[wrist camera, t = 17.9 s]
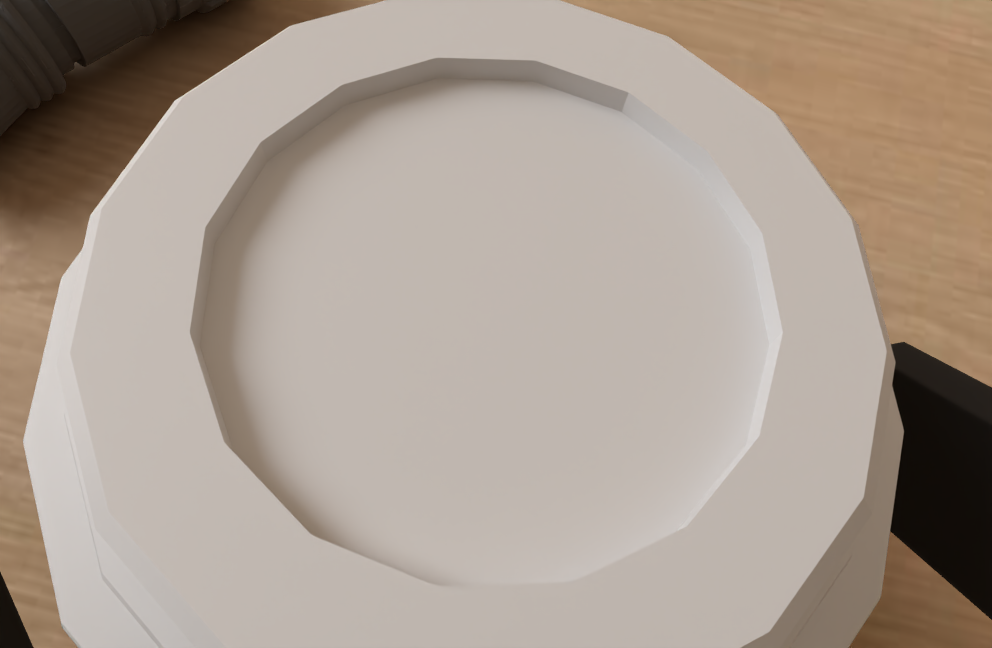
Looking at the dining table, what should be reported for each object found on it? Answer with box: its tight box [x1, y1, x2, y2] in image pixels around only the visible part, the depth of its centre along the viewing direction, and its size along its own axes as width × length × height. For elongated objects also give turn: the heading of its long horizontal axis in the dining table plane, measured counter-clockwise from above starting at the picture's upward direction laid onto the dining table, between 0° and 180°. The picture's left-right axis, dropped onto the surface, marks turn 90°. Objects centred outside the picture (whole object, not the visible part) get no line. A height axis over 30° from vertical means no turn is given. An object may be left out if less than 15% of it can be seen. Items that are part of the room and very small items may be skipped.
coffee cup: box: [23, 0, 904, 648], centre depth 12 cm, size 9×9×12 cm
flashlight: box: [0, 0, 229, 136], centre depth 27 cm, size 15×5×5 cm, turn 136°
